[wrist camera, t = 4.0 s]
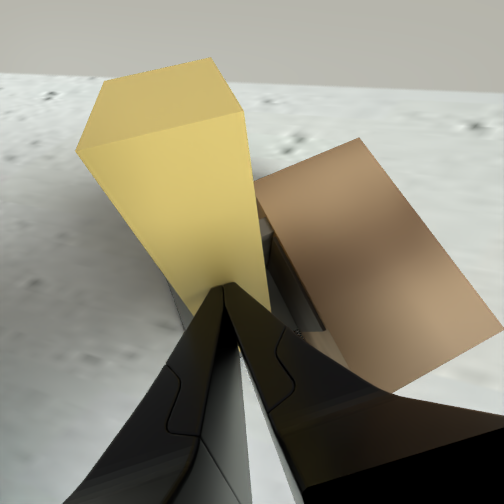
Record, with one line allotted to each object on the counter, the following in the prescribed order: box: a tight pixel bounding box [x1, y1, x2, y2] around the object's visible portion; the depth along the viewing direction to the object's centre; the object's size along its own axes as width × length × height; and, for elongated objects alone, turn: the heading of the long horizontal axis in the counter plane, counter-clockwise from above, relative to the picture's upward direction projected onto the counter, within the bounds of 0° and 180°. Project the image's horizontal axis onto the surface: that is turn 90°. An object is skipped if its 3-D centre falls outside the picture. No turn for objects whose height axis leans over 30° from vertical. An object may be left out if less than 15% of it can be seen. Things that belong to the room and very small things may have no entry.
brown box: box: [253, 138, 504, 393], centre depth 13 cm, size 10×7×6 cm, turn 25°
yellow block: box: [75, 58, 271, 352], centre depth 10 cm, size 4×3×12 cm
